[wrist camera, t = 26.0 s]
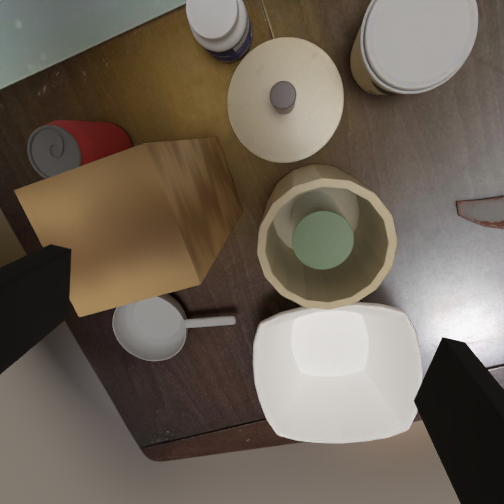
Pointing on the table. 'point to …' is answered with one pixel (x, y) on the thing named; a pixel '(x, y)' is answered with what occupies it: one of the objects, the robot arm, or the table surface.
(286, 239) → the pot
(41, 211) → the stand
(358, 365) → the bowl
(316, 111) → the lid
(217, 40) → the pill bottle
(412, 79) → the coffee cup
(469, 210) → the kitchen knife
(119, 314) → the small pan
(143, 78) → the table surface
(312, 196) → the canister
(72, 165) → the beer can
